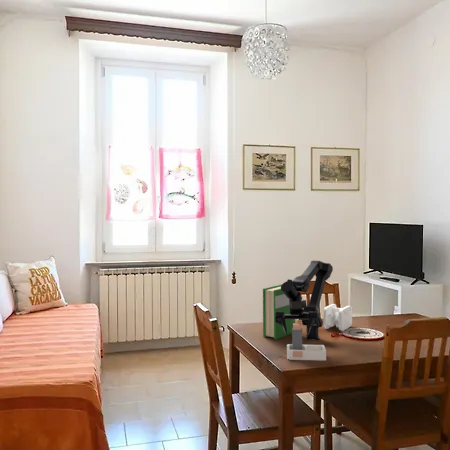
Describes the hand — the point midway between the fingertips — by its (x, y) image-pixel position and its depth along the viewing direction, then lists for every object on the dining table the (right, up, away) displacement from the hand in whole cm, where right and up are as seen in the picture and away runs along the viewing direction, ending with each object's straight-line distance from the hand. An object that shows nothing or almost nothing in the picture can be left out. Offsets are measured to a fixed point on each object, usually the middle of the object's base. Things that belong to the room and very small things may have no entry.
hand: (297, 334), depth 204 cm
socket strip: (+4, -9, -2) cm, 10 cm away
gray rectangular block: (0, -8, -1) cm, 8 cm away
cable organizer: (+29, -7, +45) cm, 54 cm away
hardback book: (-4, -8, +34) cm, 35 cm away
